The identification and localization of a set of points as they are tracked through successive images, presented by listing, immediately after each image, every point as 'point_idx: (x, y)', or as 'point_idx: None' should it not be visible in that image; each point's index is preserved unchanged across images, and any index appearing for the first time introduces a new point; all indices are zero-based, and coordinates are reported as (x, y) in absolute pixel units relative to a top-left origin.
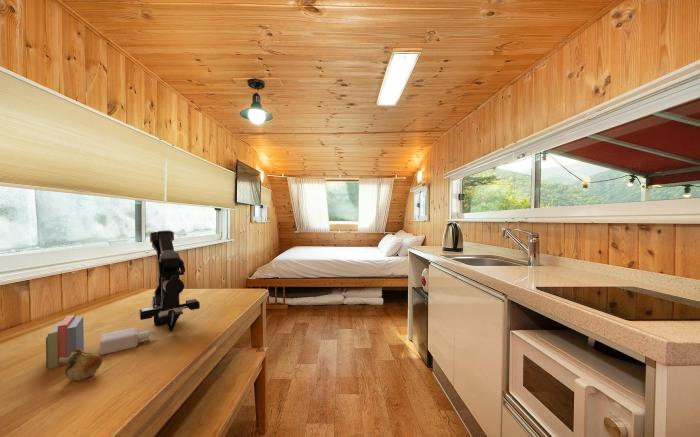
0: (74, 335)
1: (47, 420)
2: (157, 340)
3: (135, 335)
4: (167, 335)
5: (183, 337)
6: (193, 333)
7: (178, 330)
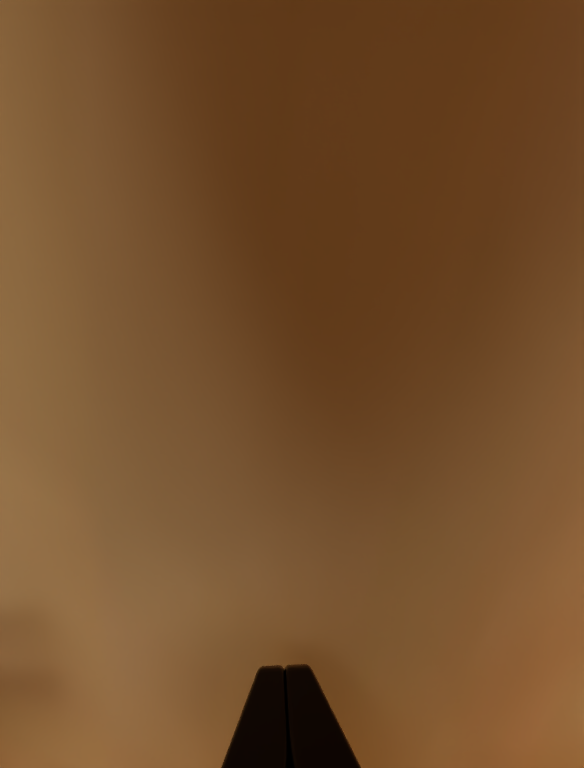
0: None
1: None
2: (62, 680)
3: None
4: (224, 572)
5: (412, 762)
6: (573, 712)
7: (458, 440)
